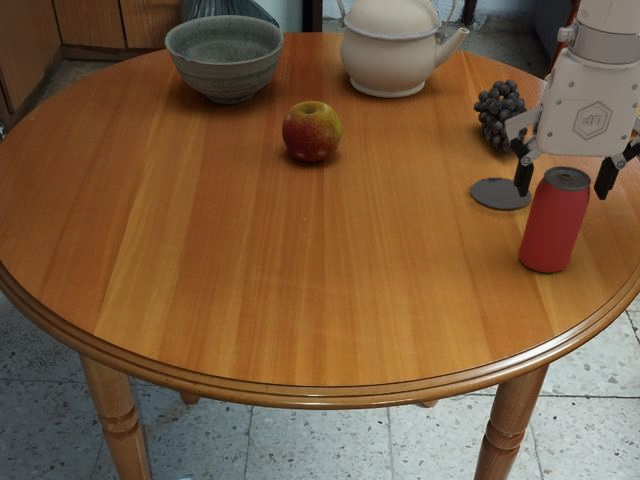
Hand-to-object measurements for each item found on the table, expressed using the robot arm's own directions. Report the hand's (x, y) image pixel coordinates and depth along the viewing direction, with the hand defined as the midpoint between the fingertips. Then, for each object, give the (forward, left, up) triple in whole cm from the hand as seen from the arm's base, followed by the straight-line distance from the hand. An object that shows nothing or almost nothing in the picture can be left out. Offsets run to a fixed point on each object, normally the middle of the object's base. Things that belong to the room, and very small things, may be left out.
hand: (559, 193), depth 83 cm
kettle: (+17, -57, -10) cm, 60 cm away
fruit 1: (+32, -28, -10) cm, 43 cm away
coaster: (+3, -17, -10) cm, 20 cm away
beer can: (0, 0, -10) cm, 10 cm away
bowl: (+48, -51, -10) cm, 71 cm away
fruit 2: (+1, -34, -10) cm, 36 cm away
